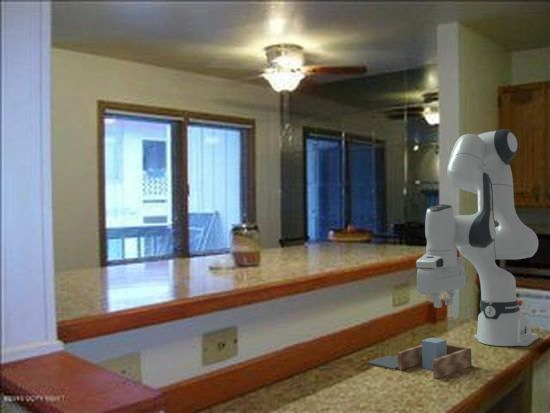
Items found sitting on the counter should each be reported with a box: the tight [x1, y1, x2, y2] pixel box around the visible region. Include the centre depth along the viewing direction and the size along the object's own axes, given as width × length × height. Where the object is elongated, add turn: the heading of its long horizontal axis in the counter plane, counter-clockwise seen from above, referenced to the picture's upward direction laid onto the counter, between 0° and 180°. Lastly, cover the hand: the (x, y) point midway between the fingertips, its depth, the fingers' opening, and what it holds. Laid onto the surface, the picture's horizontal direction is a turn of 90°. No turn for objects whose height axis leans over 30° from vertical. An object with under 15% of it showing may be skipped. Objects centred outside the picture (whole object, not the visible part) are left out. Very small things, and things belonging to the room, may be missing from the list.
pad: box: [366, 355, 398, 370], centre depth 170 cm, size 10×10×1 cm
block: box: [421, 337, 448, 371], centre depth 164 cm, size 5×5×8 cm
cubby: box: [396, 343, 473, 380], centre depth 164 cm, size 17×13×5 cm
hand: (443, 306), depth 168 cm, fingers open, 4 cm apart
